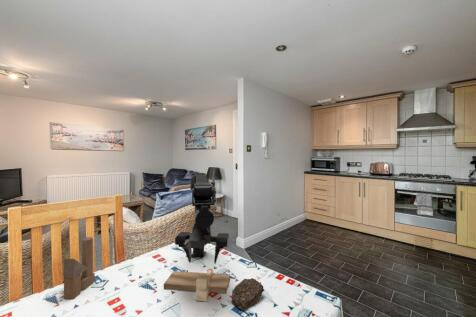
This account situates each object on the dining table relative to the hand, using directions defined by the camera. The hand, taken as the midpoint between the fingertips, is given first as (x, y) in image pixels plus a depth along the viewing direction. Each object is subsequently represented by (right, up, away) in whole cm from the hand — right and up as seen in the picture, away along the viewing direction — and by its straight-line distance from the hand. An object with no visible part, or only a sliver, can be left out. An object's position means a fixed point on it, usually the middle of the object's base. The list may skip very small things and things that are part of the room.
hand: (202, 262), depth 74 cm
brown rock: (+16, -12, -1) cm, 20 cm away
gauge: (+1, -12, +4) cm, 12 cm away
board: (-3, -12, +7) cm, 14 cm away
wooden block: (-46, -12, +3) cm, 48 cm away
